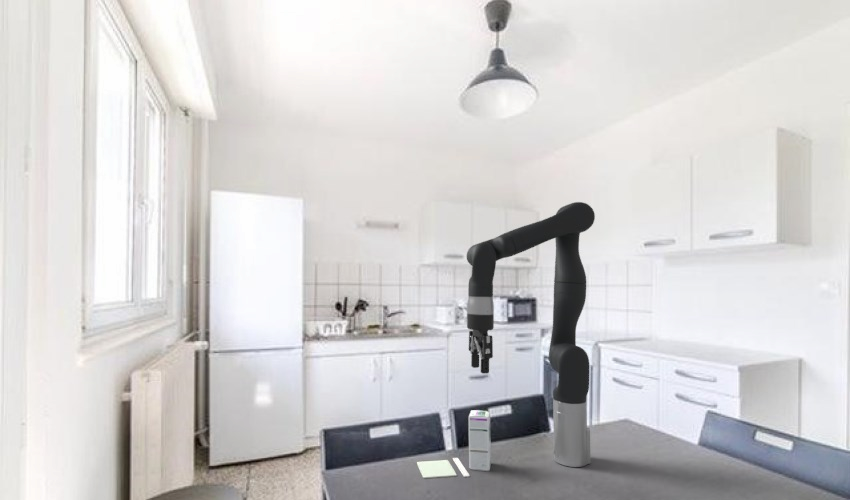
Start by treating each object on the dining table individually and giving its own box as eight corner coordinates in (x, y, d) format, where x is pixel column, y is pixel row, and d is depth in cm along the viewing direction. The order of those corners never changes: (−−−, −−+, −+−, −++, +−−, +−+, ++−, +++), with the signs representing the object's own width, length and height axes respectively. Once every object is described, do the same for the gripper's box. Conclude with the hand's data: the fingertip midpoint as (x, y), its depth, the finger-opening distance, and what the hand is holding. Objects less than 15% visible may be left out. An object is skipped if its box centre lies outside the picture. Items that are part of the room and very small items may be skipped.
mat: (447, 460, 125) (447, 459, 125) (456, 475, 115) (456, 474, 115) (416, 463, 124) (416, 461, 124) (423, 478, 114) (423, 477, 114)
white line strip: (457, 458, 127) (457, 457, 127) (469, 476, 115) (469, 475, 115) (452, 459, 127) (452, 458, 127) (464, 477, 115) (464, 475, 115)
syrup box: (489, 471, 118) (489, 416, 120) (468, 469, 120) (468, 415, 121) (491, 463, 124) (491, 410, 125) (470, 461, 125) (470, 409, 126)
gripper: (501, 314, 119) (501, 375, 118) (484, 311, 133) (484, 365, 132) (475, 314, 118) (474, 375, 116) (461, 310, 131) (460, 365, 130)
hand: (479, 370), depth 124 cm, fingers open, 8 cm apart
